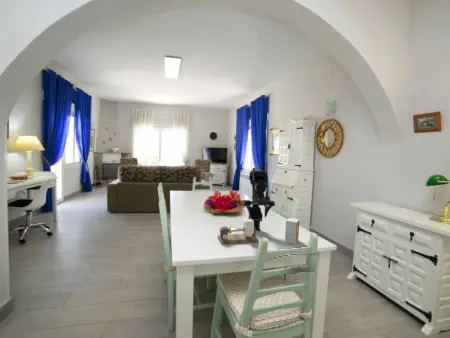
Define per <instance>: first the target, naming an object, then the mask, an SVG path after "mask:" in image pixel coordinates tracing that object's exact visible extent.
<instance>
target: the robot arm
mask: <svg viewBox="0 0 450 338" xmlns="http://www.w3.org/2000/svg"><path fill="white" fill-rule="evenodd" d="M248 179H249V183H250V185H251V187H252V188H251V189H252V192H251V197H252V198H251V199H252V201H251V200H249V199H243V200H242V202H241V203H242V206H244V207H246V210H247V213H248V219H252V220H253V221H254V227H255V228H256V232H259V231H262V229H261V222H262V221H263V216H264V218H267V215H268V213H269V211H270V210H271V209H272V208H273V207H275V206H276V204H275V201H273V200H271V198H270V197H269V196H265V192H266V190H267V185H266V184H265V183H268V175H267V172H266V171H265V170H262V169H261V167H252V170H250V171H249V176H248ZM261 206H264V215H263V212H262V208H261Z"/></svg>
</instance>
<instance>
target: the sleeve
mask: <svg viewBox="0 0 450 338" xmlns="http://www.w3.org/2000/svg"><path fill="white" fill-rule="evenodd" d="M242 228H245V231H242V232H243V234H254V221H253V220H252V219H249V218H247V219H243V227H242Z"/></svg>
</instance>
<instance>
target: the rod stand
mask: <svg viewBox="0 0 450 338" xmlns="http://www.w3.org/2000/svg"><path fill="white" fill-rule="evenodd" d="M243 231H245V228H243V227H242V228H241V227H239V228H232V227H230V226H221V228H219V234H217V237H216V238H217V240H218V241H219V242H220V244H221V245H222V246H223V245H224V246H225V245H235V244H239V245H240V244H250V243H251V244H253V243H259V241H260V240H259V239H260V238H257V236H256V233H257V231H256V228H255V227H254V234H245V233H232V232H243Z"/></svg>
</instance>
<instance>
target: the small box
mask: <svg viewBox="0 0 450 338" xmlns="http://www.w3.org/2000/svg"><path fill="white" fill-rule="evenodd" d="M299 231H300V219H299V218H293V217H288V218H287V220H285V232H284V233H285V235H284V237H285V238H284V243H285V244H290V245H295V246H296V245H297V243H298V241H299V235H300V233H299Z"/></svg>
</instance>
